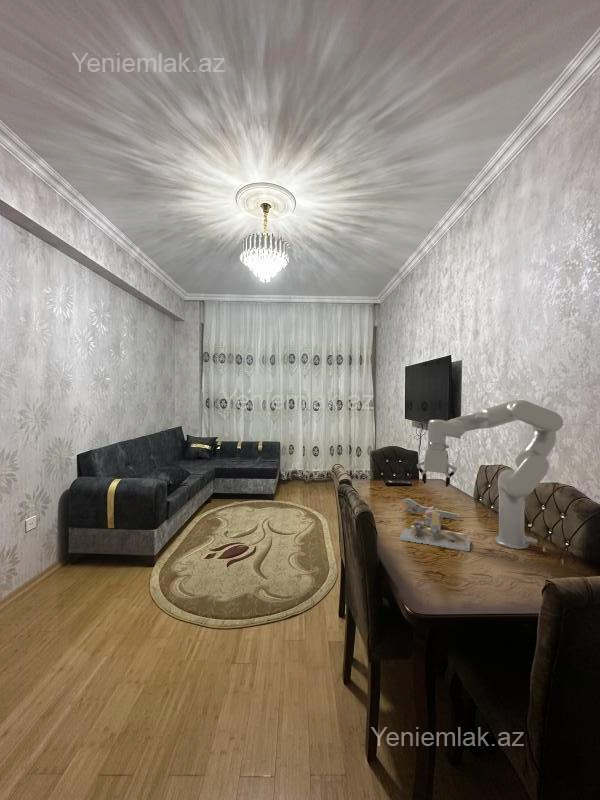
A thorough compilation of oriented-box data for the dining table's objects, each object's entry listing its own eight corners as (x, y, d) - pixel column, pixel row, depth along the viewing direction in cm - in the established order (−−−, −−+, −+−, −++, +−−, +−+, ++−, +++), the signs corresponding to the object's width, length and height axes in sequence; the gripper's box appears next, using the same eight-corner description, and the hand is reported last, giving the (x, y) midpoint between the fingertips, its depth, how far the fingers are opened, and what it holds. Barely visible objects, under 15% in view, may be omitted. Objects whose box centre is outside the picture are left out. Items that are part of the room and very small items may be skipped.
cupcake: (439, 530, 173) (439, 509, 173) (420, 526, 179) (420, 506, 179) (445, 525, 180) (445, 505, 181) (426, 521, 186) (426, 502, 186)
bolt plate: (470, 541, 159) (470, 538, 159) (469, 551, 149) (469, 547, 149) (404, 531, 172) (404, 527, 172) (399, 539, 161) (399, 536, 161)
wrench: (459, 526, 189) (400, 512, 201) (459, 525, 190) (401, 511, 202) (462, 511, 188) (402, 497, 200) (461, 510, 190) (403, 497, 202)
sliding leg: (440, 533, 164) (440, 512, 164) (439, 538, 158) (439, 516, 158) (431, 532, 165) (431, 511, 166) (429, 536, 160) (429, 515, 160)
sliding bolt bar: (466, 538, 159) (466, 527, 159) (465, 543, 153) (465, 532, 153) (411, 530, 169) (412, 519, 169) (409, 534, 164) (409, 523, 164)
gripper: (458, 447, 164) (457, 485, 164) (419, 444, 173) (418, 480, 173) (456, 449, 158) (455, 489, 158) (415, 446, 166) (414, 483, 166)
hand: (435, 484), depth 165 cm, fingers open, 9 cm apart
